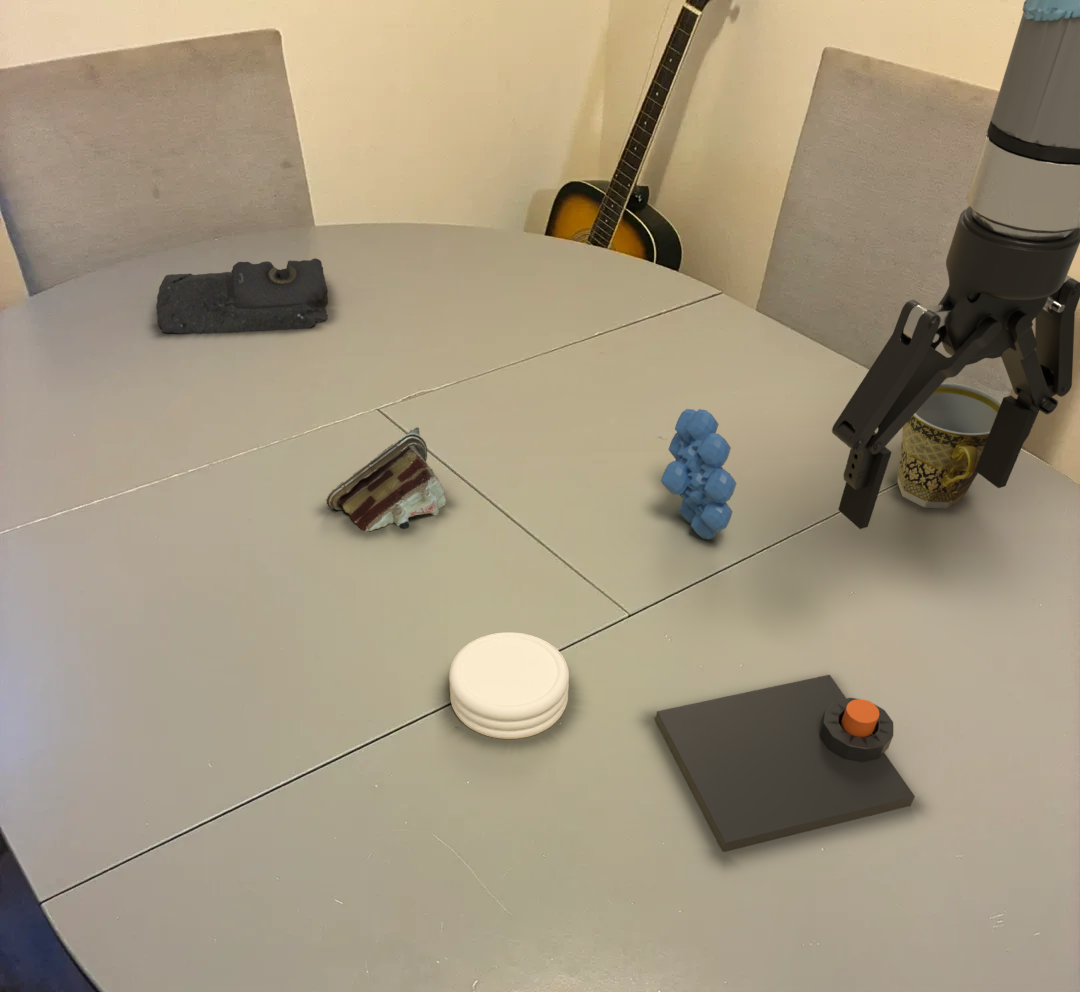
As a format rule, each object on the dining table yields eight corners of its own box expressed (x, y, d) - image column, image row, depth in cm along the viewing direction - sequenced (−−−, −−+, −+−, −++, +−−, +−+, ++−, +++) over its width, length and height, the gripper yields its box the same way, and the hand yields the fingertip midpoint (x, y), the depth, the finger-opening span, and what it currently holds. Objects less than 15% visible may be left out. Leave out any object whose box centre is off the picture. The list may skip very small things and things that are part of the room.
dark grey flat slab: (839, 682, 90) (847, 658, 88) (924, 804, 81) (935, 779, 79) (654, 722, 86) (658, 697, 84) (722, 854, 77) (728, 830, 75)
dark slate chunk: (164, 285, 140) (156, 250, 136) (328, 277, 143) (324, 242, 139) (154, 339, 130) (144, 302, 126) (330, 329, 132) (325, 293, 129)
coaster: (440, 734, 85) (437, 705, 82) (462, 652, 92) (461, 623, 89) (560, 748, 84) (561, 719, 82) (574, 665, 91) (575, 635, 88)
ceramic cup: (873, 464, 114) (898, 380, 106) (964, 467, 113) (995, 384, 106) (896, 535, 105) (925, 449, 97) (995, 539, 105) (1031, 453, 97)
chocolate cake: (353, 553, 102) (433, 466, 98) (318, 503, 104) (395, 415, 100) (408, 569, 110) (484, 489, 106) (374, 522, 112) (447, 441, 108)
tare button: (864, 711, 84) (869, 696, 83) (880, 733, 82) (885, 718, 81) (835, 717, 84) (840, 702, 82) (851, 740, 82) (856, 725, 81)
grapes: (632, 498, 108) (643, 394, 100) (691, 487, 110) (707, 384, 101) (677, 564, 101) (693, 458, 92) (739, 552, 102) (761, 446, 94)
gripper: (1121, 169, 71) (1010, 439, 87) (826, 223, 63) (763, 508, 79) (1211, 209, 67) (1077, 487, 82) (905, 272, 59) (821, 565, 74)
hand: (923, 498), depth 81 cm, fingers open, 13 cm apart
